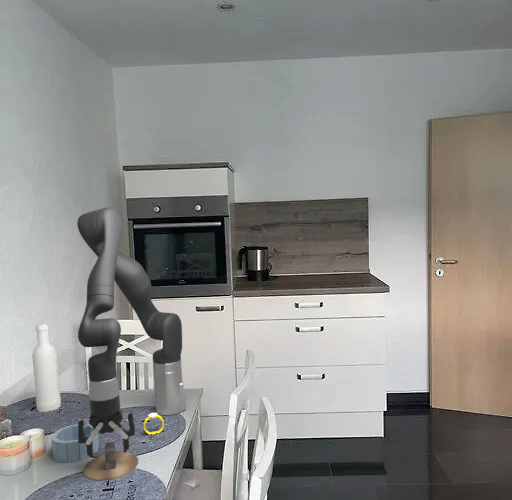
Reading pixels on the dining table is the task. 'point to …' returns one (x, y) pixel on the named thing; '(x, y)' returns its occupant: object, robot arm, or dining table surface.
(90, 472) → the lid
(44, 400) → the bottle
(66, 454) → the bowl
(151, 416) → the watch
